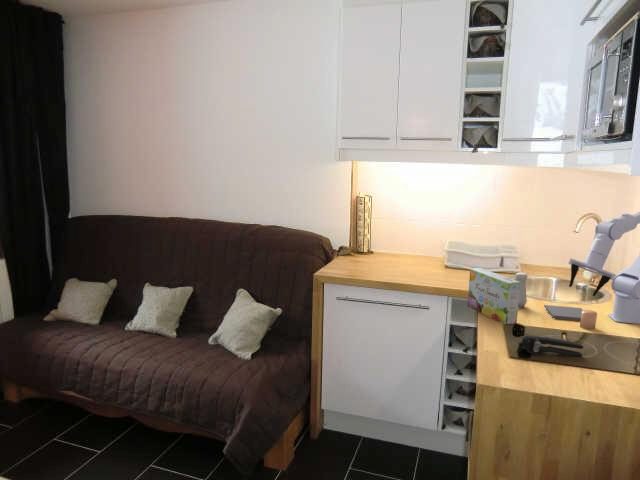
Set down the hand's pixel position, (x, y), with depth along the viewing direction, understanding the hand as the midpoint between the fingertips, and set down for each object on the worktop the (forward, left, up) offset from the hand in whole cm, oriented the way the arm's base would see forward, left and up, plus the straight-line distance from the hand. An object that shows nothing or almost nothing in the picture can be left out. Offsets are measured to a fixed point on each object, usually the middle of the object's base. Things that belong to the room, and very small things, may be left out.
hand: (581, 291), depth 170 cm
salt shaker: (+17, -17, -12) cm, 26 cm away
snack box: (+29, -2, -12) cm, 31 cm away
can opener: (+16, +31, -12) cm, 37 cm away
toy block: (-2, +2, -12) cm, 12 cm away
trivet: (+1, -11, -12) cm, 16 cm away
